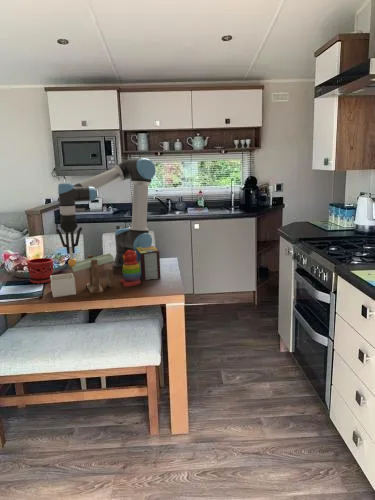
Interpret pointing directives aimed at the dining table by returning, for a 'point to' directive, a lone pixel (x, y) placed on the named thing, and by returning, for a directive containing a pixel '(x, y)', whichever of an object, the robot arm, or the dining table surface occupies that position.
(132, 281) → the stacking bear
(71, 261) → the ball
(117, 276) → the dining table surface
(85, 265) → the lever
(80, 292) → the dining table surface
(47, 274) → the plant pot
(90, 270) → the stand
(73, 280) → the grey box
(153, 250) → the protein box
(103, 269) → the dining table surface
